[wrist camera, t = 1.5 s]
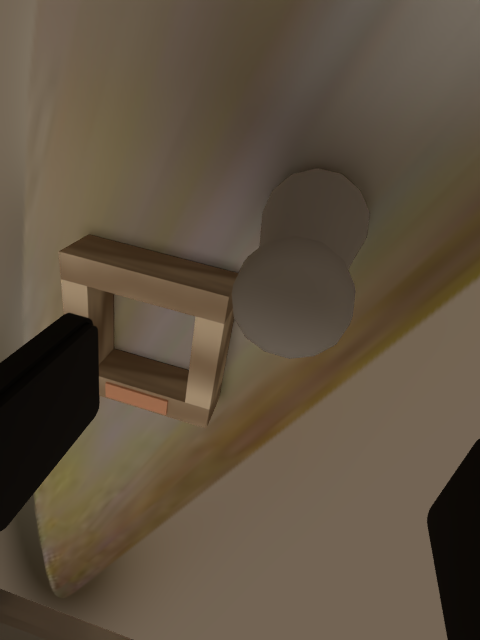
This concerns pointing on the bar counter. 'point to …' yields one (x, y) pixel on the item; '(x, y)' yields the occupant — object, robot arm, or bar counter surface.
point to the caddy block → (161, 290)
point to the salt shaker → (302, 266)
